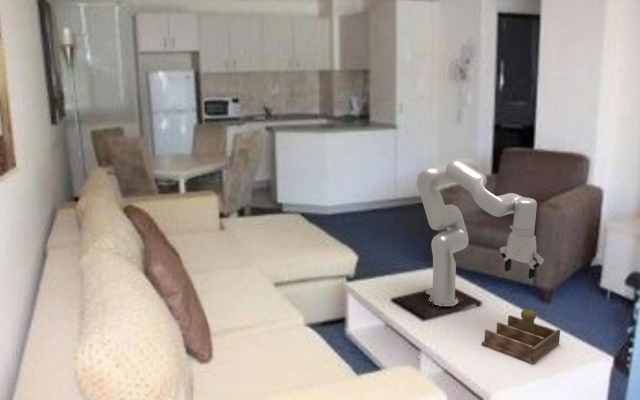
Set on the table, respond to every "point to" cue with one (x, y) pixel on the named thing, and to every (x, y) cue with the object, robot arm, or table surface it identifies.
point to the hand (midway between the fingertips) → (519, 274)
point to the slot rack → (522, 340)
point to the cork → (528, 321)
